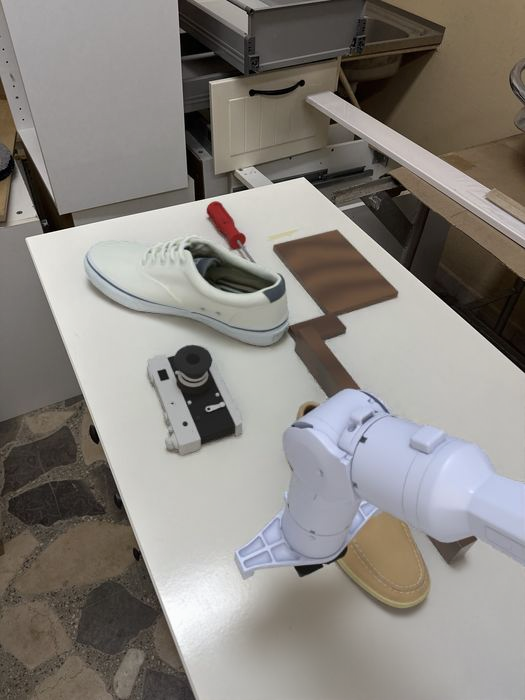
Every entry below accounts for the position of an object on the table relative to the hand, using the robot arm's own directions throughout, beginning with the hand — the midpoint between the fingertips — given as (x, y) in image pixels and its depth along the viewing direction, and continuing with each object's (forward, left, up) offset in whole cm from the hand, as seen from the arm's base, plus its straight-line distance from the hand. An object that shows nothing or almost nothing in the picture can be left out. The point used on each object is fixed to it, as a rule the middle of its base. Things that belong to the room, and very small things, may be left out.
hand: (301, 565), depth 53 cm
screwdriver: (+56, -20, -6) cm, 60 cm away
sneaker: (+47, -5, -5) cm, 47 cm away
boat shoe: (+5, -9, -5) cm, 12 cm away
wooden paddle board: (+24, -28, -5) cm, 38 cm away
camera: (+27, +1, -5) cm, 28 cm away
